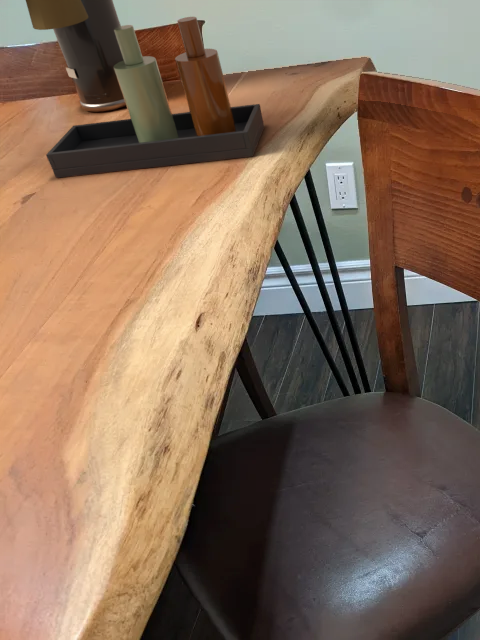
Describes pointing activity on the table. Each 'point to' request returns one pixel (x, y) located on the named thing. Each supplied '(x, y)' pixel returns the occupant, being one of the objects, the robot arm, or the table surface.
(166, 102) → the sage bottle
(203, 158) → the tray
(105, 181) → the table surface
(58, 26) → the olive peg figure
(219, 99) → the amber bottle
